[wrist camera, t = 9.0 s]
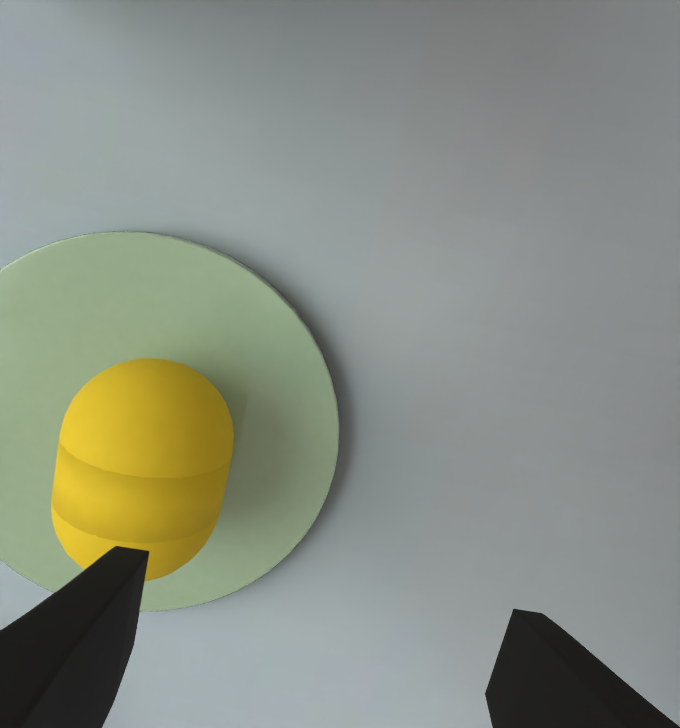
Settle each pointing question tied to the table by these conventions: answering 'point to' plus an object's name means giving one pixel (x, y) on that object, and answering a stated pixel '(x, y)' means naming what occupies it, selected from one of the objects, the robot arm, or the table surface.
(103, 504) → the yellow capsule
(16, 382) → the plate
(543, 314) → the table surface
